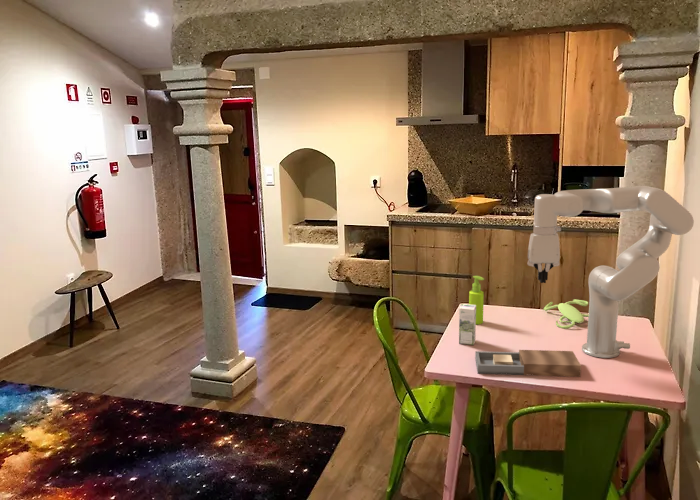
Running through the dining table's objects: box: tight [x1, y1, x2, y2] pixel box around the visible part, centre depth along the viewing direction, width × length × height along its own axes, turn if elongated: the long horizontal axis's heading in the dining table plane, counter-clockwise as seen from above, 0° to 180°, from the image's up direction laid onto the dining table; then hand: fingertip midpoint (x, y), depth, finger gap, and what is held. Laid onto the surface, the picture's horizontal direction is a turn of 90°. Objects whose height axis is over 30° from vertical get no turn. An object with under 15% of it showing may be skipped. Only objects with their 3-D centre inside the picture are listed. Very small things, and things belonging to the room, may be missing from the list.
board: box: [518, 349, 582, 378], centre depth 198 cm, size 18×12×4 cm, turn 82°
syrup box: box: [458, 303, 477, 346], centre depth 221 cm, size 6×6×14 cm
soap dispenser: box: [468, 275, 485, 326], centre depth 241 cm, size 6×7×20 cm
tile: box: [493, 354, 513, 365], centre depth 200 cm, size 6×6×2 cm
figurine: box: [542, 298, 589, 330], centre depth 245 cm, size 18×27×6 cm
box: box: [474, 350, 525, 376], centre depth 200 cm, size 15×12×3 cm
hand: (542, 281), depth 204 cm, fingers closed
